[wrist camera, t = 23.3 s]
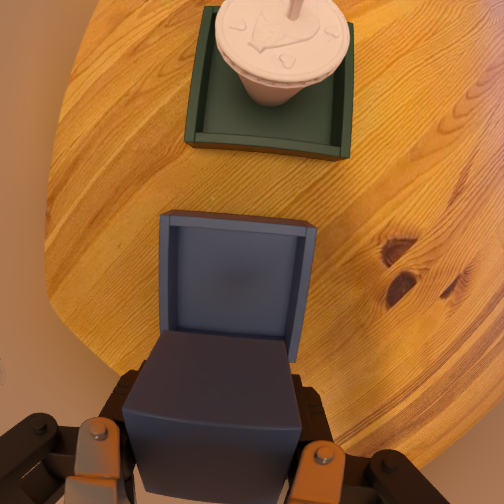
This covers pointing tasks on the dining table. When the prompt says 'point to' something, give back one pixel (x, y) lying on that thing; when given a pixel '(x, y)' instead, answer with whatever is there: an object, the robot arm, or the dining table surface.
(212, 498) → the blue block
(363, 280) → the dining table surface
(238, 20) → the smoothie
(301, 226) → the blue bin
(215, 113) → the green bin
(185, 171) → the dining table surface
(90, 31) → the dining table surface
